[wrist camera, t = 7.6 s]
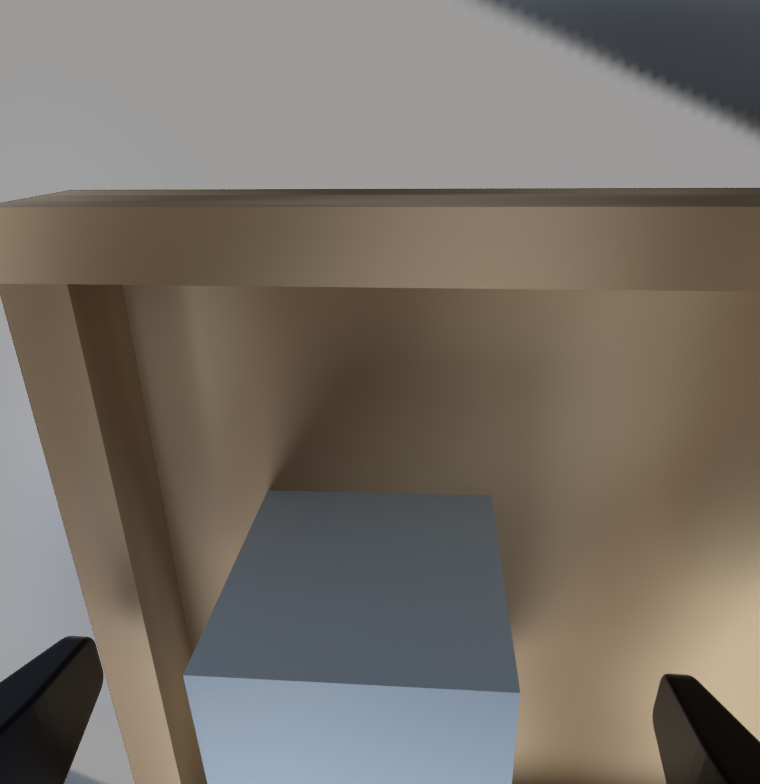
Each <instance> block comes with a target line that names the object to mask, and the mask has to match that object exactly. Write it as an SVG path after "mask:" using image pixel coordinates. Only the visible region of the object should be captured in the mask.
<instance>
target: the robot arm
mask: <svg viewBox="0 0 760 784" xmlns="http://www.w3.org/2000/svg"><path fill="white" fill-rule="evenodd" d="M102 684H103V670H102V666H101V662H100V659H99V655H98V651H97V648H96V644H95V642H94V640H92V638H90V637H79V636H68V637H65V638H63V639H61V640H60V641H58V642H57V643H56V644H54V645H53V646H51V647H50V648H49V649H47V650H46V651H44V652H43V653H41V654H40V655H39V656H37V657H36V658H34V659H33V660H31V661H30V662H29V663H27V664H26V665H24V666H23V667H22V668H20V669H19V670H17V671H16V672H14V673H13V674H12V675H10V676H9V677H8V678H6V679H5V680H3V681H2V682H0V784H64V782H65V779H66V777H67V774H68V772H69V770H70V767H71V765H72V762H73V759H74V757H75V754H76V752H77V749H78V747H79V744H80V742H81V739H82V736H83V734H84V731H85V729H86V726H87V724H88V721H89V718H90V716H91V713H92V711H93V708H94V706H95V703H96V701H97V698H98V696H99V693H100V691H101V688H102ZM652 717H653V727H654V731H655V736H656V740H657V744H658V749H659V753H660V758H661V762H662V766H663V771H664V775H665V779H666V784H760V741H759V740H758V739H757V738H756V737H755V736H754V735H753V734H752V733H751V732H750V731H748V730H747V729H746V728H745V727H744V726H743V725H742V724H741V723H740V722H739V721H738V720H737V719H736V718H735V717H734V716H733V715H732V714H731V713H730V712H729V711H728V710H727V709H726V708H725V707H724V706H723V705H722V704H721V703H720V702H719V701H718V700H717V699H716V698H715V697H714V696H713V695H712V694H711V693H710V692H709V691H708V690H707V689H706V688H705V687H704V686H703V685H702V684H701V683H700V682H699V681H698V680H697V679H696V678H694V677H692V676H690V675H684V674H664V675H663V676H662V678H661V680H660V684H659V688H658V692H657V696H656V699H655V703H654V707H653V715H652Z"/></svg>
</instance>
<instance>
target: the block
mask: <svg viewBox="0 0 760 784" xmlns="http://www.w3.org/2000/svg"><path fill="white" fill-rule="evenodd" d="M183 678H184V682H185V687H186V691H187V696H188V700H189V704H190V709H191V713H192V718H193V722H194V727H195V731H196V735H197V740H198V744H199V749H200V753H201V758H202V762H203V766H204V771H205V775H206V780H207V784H512V777H513V767H514V756H515V745H516V735H517V724H518V714H519V703H520V687H519V680H518V673H517V666H516V660H515V653H514V646H513V639H512V633H511V626H510V619H509V612H508V606H507V599H506V592H505V585H504V579H503V572H502V565H501V558H500V552H499V545H498V538H497V531H496V525H495V518H494V511H493V504H492V497H491V496H487V495H445V494H403V493H361V492H319V491H277V490H268V491H267V493H266V495H265V497H264V500H263V502H262V504H261V506H260V508H259V511H258V513H257V515H256V517H255V519H254V521H253V524H252V526H251V528H250V530H249V532H248V534H247V537H246V539H245V541H244V543H243V545H242V548H241V550H240V552H239V554H238V556H237V558H236V561H235V563H234V565H233V567H232V569H231V572H230V574H229V576H228V578H227V580H226V582H225V585H224V587H223V589H222V591H221V593H220V595H219V598H218V600H217V602H216V604H215V606H214V609H213V611H212V613H211V615H210V617H209V619H208V622H207V624H206V626H205V628H204V630H203V633H202V635H201V637H200V639H199V641H198V643H197V646H196V648H195V650H194V652H193V654H192V656H191V659H190V661H189V663H188V665H187V667H186V670H185V672H184V674H183Z"/></svg>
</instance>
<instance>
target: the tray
mask: <svg viewBox="0 0 760 784" xmlns="http://www.w3.org/2000/svg"><path fill="white" fill-rule="evenodd" d="M0 296H1V299H2V303H3V307H4V310H5V314H6V317H7V321H8V324H9V328H10V332H11V335H12V339H13V343H14V346H15V350H16V354H17V357H18V361H19V364H20V368H21V372H22V376H23V379H24V383H25V386H26V390H27V394H28V397H29V401H30V404H31V408H32V412H33V415H34V419H35V423H36V426H37V430H38V433H39V437H40V441H41V444H42V448H43V452H44V455H45V458H46V462H47V466H48V470H49V473H50V477H51V481H52V484H53V488H54V491H55V495H56V498H57V502H58V506H59V510H60V513H61V517H62V520H63V524H64V527H65V531H66V535H67V538H68V542H69V546H70V549H71V553H72V557H73V560H74V564H75V567H76V571H77V575H78V578H79V581H80V586H81V589H82V593H83V596H84V600H85V603H86V607H87V611H88V614H89V618H90V621H91V625H92V629H93V632H94V636H95V639H96V643H97V647H98V651H99V654H100V658H101V662H102V665H103V669H104V673H105V676H106V679H107V683H108V687H109V691H110V694H111V697H112V702H113V705H114V709H115V712H116V716H117V720H118V723H119V727H120V731H121V734H122V738H123V741H124V745H125V748H126V752H127V756H128V759H129V763H130V767H131V770H132V774H133V778H134V781H135V784H207V780H206V775H205V771H204V766H203V762H202V758H201V753H200V749H199V744H198V740H197V735H196V731H195V727H194V722H193V718H192V713H191V709H190V704H189V700H188V696H187V691H186V687H185V682H184V678H183V674H184V672H185V670H186V667H187V665H188V663H189V661H190V659H191V656H192V654H193V652H194V650H195V648H196V646H197V643H198V641H199V639H200V637H201V635H202V633H203V630H204V628H205V626H206V624H207V622H208V619H209V617H210V615H211V613H212V611H213V609H214V606H215V604H216V602H217V600H218V598H219V595H220V593H221V591H222V589H223V587H224V585H225V582H226V580H227V578H228V576H229V574H230V572H231V569H232V567H233V565H234V563H235V561H236V558H237V556H238V554H239V552H240V550H241V548H242V545H243V543H244V541H245V539H246V537H247V534H248V532H249V530H250V528H251V526H252V524H253V521H254V519H255V517H256V515H257V513H258V511H259V508H260V506H261V504H262V502H263V500H264V497H265V495H266V493H267V491H268V490H277V491H319V492H361V493H403V494H445V495H487V496H491V497H492V504H493V511H494V518H495V525H496V531H497V538H498V545H499V552H500V558H501V565H502V572H503V579H504V585H505V592H506V599H507V606H508V612H509V619H510V626H511V633H512V639H513V646H514V653H515V660H516V666H517V673H518V680H519V687H520V703H519V714H518V724H517V735H516V745H515V756H514V767H513V777H512V784H666V779H665V775H664V771H663V766H662V762H661V758H660V753H659V749H658V744H657V740H656V736H655V731H654V727H653V717H652V715H653V707H654V703H655V699H656V696H657V692H658V688H659V684H660V680H661V678H662V676H663V675H664V674H684V675H690V676H692V677H694V678H696V679H697V680H698V681H699V682H700V683H701V684H702V685H703V686H704V687H705V688H706V689H707V690H708V691H709V692H710V693H711V694H712V695H713V696H714V697H715V698H716V699H717V700H718V701H719V702H720V703H721V704H722V705H723V706H724V707H725V708H726V709H727V710H728V711H729V712H730V713H731V714H732V715H733V716H734V717H735V718H736V719H737V720H738V721H739V722H740V723H741V724H742V725H743V726H744V727H745V728H746V729H747V730H748V731H750V732H751V733H752V734H753V735H754V736H755V737H756V738H757V739H758V740H759V741H760V188H597V189H596V188H594V189H593V188H590V189H589V188H586V189H584V188H583V189H582V188H580V189H579V188H578V189H285V190H284V189H276V190H274V189H271V190H270V189H269V190H268V189H263V190H262V189H260V190H257V189H256V190H68V191H63V192H58V193H52V194H46V195H41V196H35V197H30V198H24V199H19V200H14V201H8V202H2V203H0Z"/></svg>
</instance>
